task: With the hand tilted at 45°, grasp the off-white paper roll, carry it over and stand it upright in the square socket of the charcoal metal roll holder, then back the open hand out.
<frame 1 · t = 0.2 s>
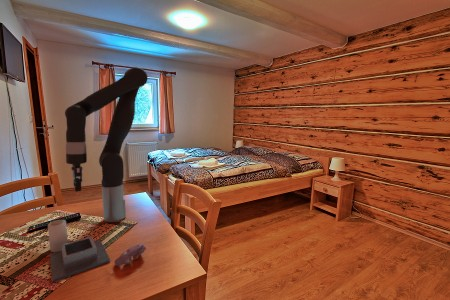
hand: (77, 188, 99), 18 cm above the table, tool pointing down, fingers open, 8 cm apart
roll holder: (79, 259, 80), on the table
paper roll: (59, 247, 86), on the table
video game controller: (131, 261, 80), on the table
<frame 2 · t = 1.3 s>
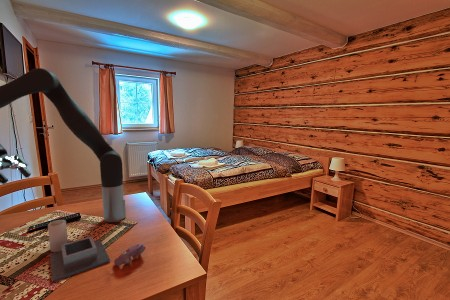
hand: (18, 179, 84), 26 cm above the table, tool tilted 45°, fingers open, 8 cm apart
nothing on the table moved.
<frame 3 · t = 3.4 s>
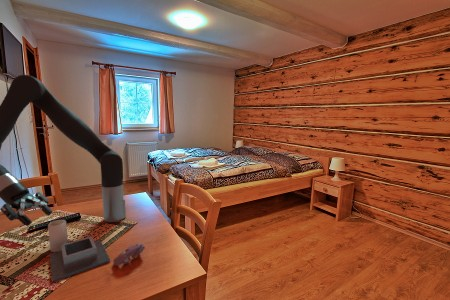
hand: (40, 218, 85), 11 cm above the table, tool tilted 45°, fingers open, 8 cm apart
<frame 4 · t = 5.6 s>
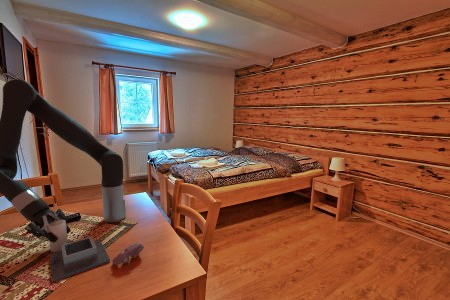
hand: (62, 236, 86), 5 cm above the table, tool tilted 45°, fingers closed on paper roll, 5 cm apart
paper roll: (59, 247, 86), on the table, touching gripper
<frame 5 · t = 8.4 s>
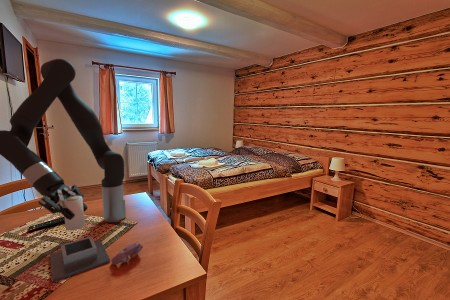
hand: (79, 213, 77), 17 cm above the table, tool tilted 45°, fingers closed on paper roll, 5 cm apart
paper roll: (75, 226, 78), point 12 cm above the table, touching gripper
when the fingers open (7 cm above the table, at t = 11.3 s): paper roll drops 1 cm, resting on roll holder.
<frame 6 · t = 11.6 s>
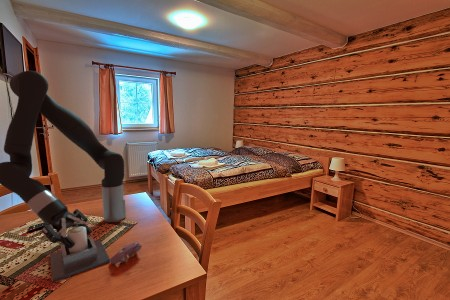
hand: (81, 239, 78), 8 cm above the table, tool tilted 45°, fingers open, 8 cm apart
paper roll: (79, 256, 80), point 1 cm above the table, touching roll holder
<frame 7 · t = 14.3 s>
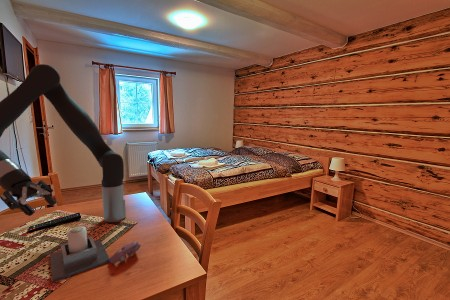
hand: (44, 208, 78), 18 cm above the table, tool tilted 45°, fingers open, 8 cm apart
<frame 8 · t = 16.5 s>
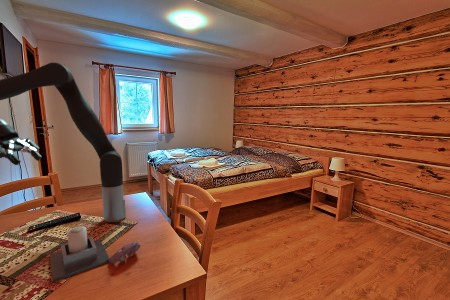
hand: (29, 161, 86), 33 cm above the table, tool tilted 45°, fingers open, 8 cm apart
at the end: paper roll 0.1 cm off-centre on the roll holder, point 1.0 cm above the roll holder's base; paper roll tilted 0°; the gripper is holding nothing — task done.
